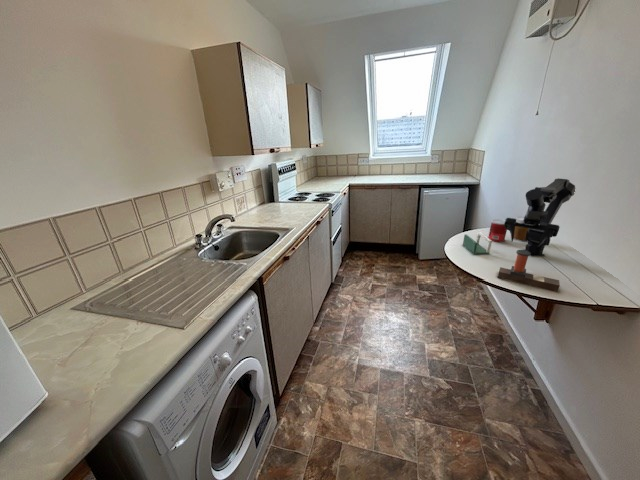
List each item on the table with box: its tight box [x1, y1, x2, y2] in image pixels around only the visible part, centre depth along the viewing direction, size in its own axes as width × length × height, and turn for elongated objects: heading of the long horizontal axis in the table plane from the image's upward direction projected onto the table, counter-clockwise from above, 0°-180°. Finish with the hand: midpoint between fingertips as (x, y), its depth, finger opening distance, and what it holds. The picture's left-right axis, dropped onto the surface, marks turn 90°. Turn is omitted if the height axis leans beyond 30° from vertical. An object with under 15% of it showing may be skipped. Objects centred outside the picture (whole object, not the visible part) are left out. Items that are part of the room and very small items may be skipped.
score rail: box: [497, 267, 561, 293], centre depth 111 cm, size 20×5×3 cm, turn 53°
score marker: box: [510, 249, 531, 278], centre depth 110 cm, size 5×6×10 cm
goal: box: [462, 231, 493, 255], centre depth 141 cm, size 8×12×8 cm, turn 178°
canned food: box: [487, 219, 508, 243], centre depth 151 cm, size 8×8×11 cm
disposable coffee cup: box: [513, 216, 529, 241], centre depth 151 cm, size 10×10×12 cm
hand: (524, 243), depth 114 cm, fingers open, 9 cm apart
